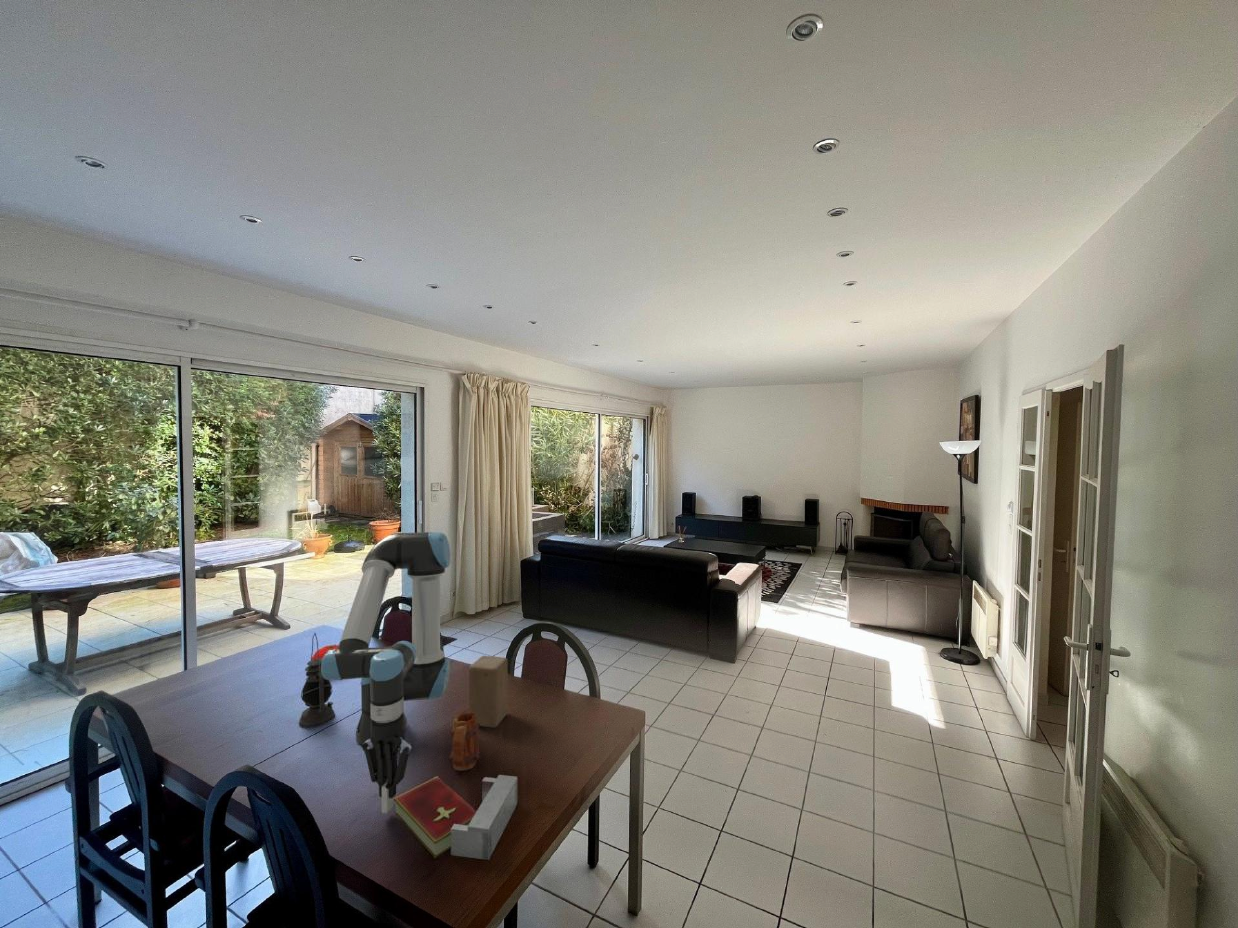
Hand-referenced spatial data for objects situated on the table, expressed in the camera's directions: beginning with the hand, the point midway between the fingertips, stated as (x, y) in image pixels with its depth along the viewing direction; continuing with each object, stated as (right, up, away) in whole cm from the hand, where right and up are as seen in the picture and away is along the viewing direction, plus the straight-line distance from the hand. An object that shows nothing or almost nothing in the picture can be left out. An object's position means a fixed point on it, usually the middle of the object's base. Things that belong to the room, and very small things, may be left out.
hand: (387, 808), depth 123 cm
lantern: (-45, -1, +45) cm, 64 cm away
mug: (+13, -2, +17) cm, 22 cm away
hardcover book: (+13, -2, -1) cm, 13 cm away
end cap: (+25, -2, -4) cm, 26 cm away
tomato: (-62, 0, +82) cm, 103 cm away
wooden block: (+14, -1, +45) cm, 47 cm away
